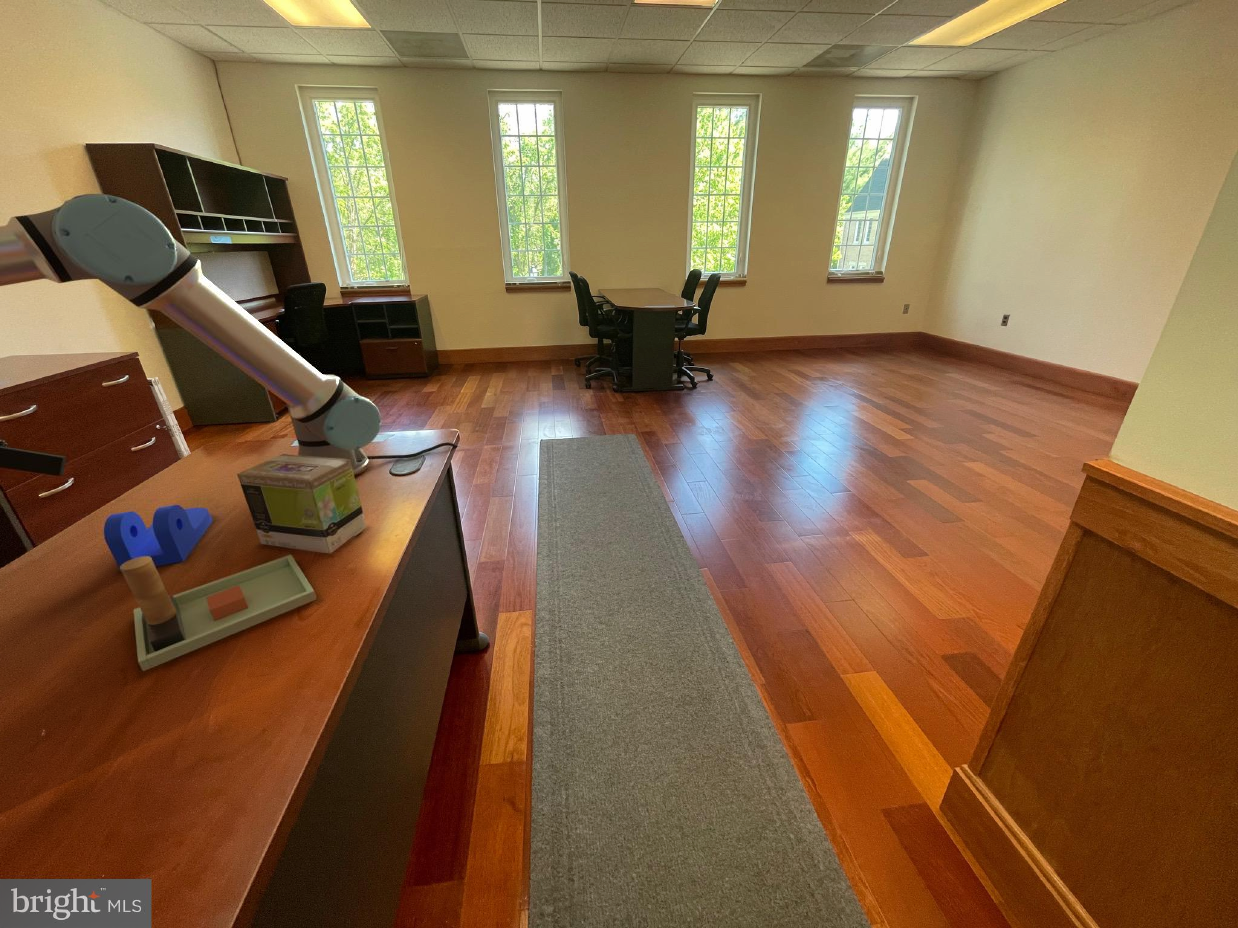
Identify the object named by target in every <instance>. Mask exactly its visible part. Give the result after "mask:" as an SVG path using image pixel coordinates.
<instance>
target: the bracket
mask: <svg viewBox="0 0 1238 928" xmlns="http://www.w3.org/2000/svg"><path fill="white" fill-rule="evenodd" d="M210 513H211V512H210V511H209V509H208V508H205V507H190V508H184V507H182V506H181V505H179V504H172V505H165V506H160V507H158V508H156V510H154V513H153V516H152V523H151V525H149V527H148V528H147V526H146V523H145V521H144V520H143V518H142V517H141V516H140V515H139V514H138V513H137V512H136V511H131V510H130V511H124V512H123V511H122V512H117V513H112V514H110V515H109V516H107V518H106V520H105V522H104V527H103V536H104V540H105V543H106V545H107V548H108V549H109V551H110V553H111V556H112V557H113V559H114V561H115V562H116V565H117V567H118V569H119V571H120V573H122V571H121V569H120V566H121V565H122V564H123V563H125V562H127V561H129V560H131V559H134V558H138V557H143V556H149V557H151V558H152V560H153V563H154V565H155V567H156V568H157V567H161V566H167V565H172V564H177V563H184V562H185V560H186V559H187V557H189V554H191V552H192V550H193V549H194V548H195V546H196V545H197V544H198V542H199V541H200V539H201V538H202V537H203V535H204V534H205V533H206V531H207V530H208V529H209V527H210V526H211V524H212V523H213V518H212V516H211V514H210ZM122 574H123V573H122Z"/></svg>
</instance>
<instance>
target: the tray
mask: <svg viewBox="0 0 1238 928" xmlns="http://www.w3.org/2000/svg"><path fill="white" fill-rule="evenodd" d="M238 585H239V586H240V588H241V591H242V593H243V595H244V598H245V600H246V603H247V606H248V608H247V609H244V610H242V611H239V612H237V613H234V614H232V615H229V616H226V617H224V618H221V619H219V620H216V621H214V619H213V616H212V614H211V612H210V609H209V606H208V602H207V599H206V597H208V596H211V595H214V594H216V593H219V592H222V591H225V590H227V589H230V588H233V587H236V586H238ZM172 596H174V598H175V600H176V603H177V605H178V607H179V610H180V614H181V619H182V623H183V628H184V633H185V637H186V640H184V641H181V642H179V643H176V644H174V645H171V646H169V647H166V648H164V649H161V650H159V651H156V652H155V651H154V649H153V647H152V645H151V643H150V638H149V630H148V623H147V621H146V619H145V617H144V615H143V613H142V611H141V609H140V607H139V606H138V607H137V608H134V609H133V621H134V631H135V632H134V633H135V643H136V654H137V663H138V665H139V667H140V668H141V671H142V672H145V671H147V670H150V669H152V668H154V667H157V666H159V665H161V664H164V663H166V662H169V661H172V660H174V659H176V658H178V657H181V656H183V655H185V654H188V653H190V652H193V651H195V650H198V649H200V648H203V647H206V646H208V645H210V644H212V643H215V642H217V641H219V640H221V639H225V638H227V637H229V636H231V635H234V634H236V633H239V632H242V631H243V630H246V629H248V628H251V627H253V626H255V625H258V624H261V623H263V622H266V621H268V620H271V619H272V618H275V617H277V616H280V615H282V614H284V613H287V612H290V611H292V610H295V609H296V608H299V607H302V606H304V605H306V604H308V603H310V602H313V601H315V600H317V595H316V591H315V590H314V589H313V587H312V585H311V584H310V582H309V580H308V579H307V577H306V575H305V574H304V572H303V571H302V569H301V568H300V566H299V565H298V563H297V562H296V560H295V558H294V557H293V555H292V554H288V555H285V556H283V557H279V558H276V559H274V560H271V561H268V562H265V563H262V564H260V565H256V566H254V567H251V568H248V569H246V570H245V569H244V570H242V571H240V572H239V571H238V572H237V573H234V574H230V575H228V576H225V577H222V578H220V579H217V580H213V581H212V582H208V583H205V584H202V585H199V586H197V587H194V588H190V589H188V590H185V591H182V592H179V593H177V594H173V595H172Z"/></svg>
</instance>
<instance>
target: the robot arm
mask: <svg viewBox="0 0 1238 928" xmlns="http://www.w3.org/2000/svg"><path fill="white" fill-rule="evenodd" d="M8 220H9V221H8V222H7V224H5V225H0V287H5V286H9V285H15V284H16V285H17V284H21V283H28V282H33V281H34V282H35V281H39V280H48V281H51V282H54V283H57V284H64V283H70V282H77V281H86V280H98V281H100V282H101V283H103V284H104V285H105V286H107V287H108V288H110V289H111V290H113V291H114V292H115V293H117V294H119V295H120V296H121V297H123V298H124V299H125V300H126V301H128V302H130V303H131V304H133V305H134V306H135V307H137V308H138V309H145V310H155V311H159V312H160V313H162V314H163V315H165V316H166V317H168V318H169V319H170V320H172V321H173V322H174V323H176V324H177V325H179V326H180V327H181V328H183V329H185V331H187V332H188V333H190V334H191V335H192V336H194V337H195V338H196V339H198V340H199V341H201V342H202V343H203V344H205V345H206V346H207V347H209V349H211V350H213V351H214V352H216V353H217V354H219V355H220V356H221V357H222V358H224V359H225V360H227V361H228V362H230V363H231V364H233V366H234V367H237V368H238V369H239V370H240V371H242V372H243V373H244V374H246V375H247V376H249V377H250V378H251V379H252V380H254V381H256V382H257V383H258V384H260V385H261V386H263V387H264V388H265V389H266V390H267V391H269V392H270V393H272V394H273V395H275V396H276V397H278V398H279V399H280V400H282V401H283V402H284V403H286V407H287V410H288V414H289V416H290V420H291V424H292V428H293V430H294V435H295V438H296V440H297V444H298V452H297V455H302V456H314V457H326V458H338V459H349V460H350V462H351V466H352V469H353V474H354V478H355V477H358V476H359V475H361V474H362V473H364V472H366V471H367V470H368V469H369V467H370V462H369V460H391V459H392V460H393V459H411V458H416V457H419V456H420V455H423V454H426V453H429V452H432V451H435V450H437V449H439V448H442V447H452V448H459V446H458V445H457V444H456V443H453V442H441V443H439V444H436V445H433V446H432V447H428V448H425V449H423V450H422V449H421V450H420V451H417V452H415V453H414V452H413V453H409V454H388V455H387V454H384V455H383V454H382V455H367V454H366V453H365V451H364V449H363V448H365V447H367V446H368V445H370V444H371V443H372V442H373V441H375V438H376V437H377V436H378V434H379V433H380V430H381V427H382V414H381V412H380V410H379V408H378V406H377V405H376V404H375V403H373V401H372V400H370V399H369V398H366V397H365V396H361V395H360V394H358V393H357V392H356V391H354V390H353V389H352V388H351V387H350V386H349V385H347V384H346V383H345V382H344V381H343V380H341V378H340V377H339V376H338V375H335V374H322V373H321V372H320V371H319V370H318V369H316V368H315V367H314V366H312V364H310V363H309V362H308V361H307V360H306V359H304V358H303V357H302V356H301V355H299V353H297V352H296V351H295V350H293V349H292V348H291V347H290V346H289V345H288V344H286V343H285V342H284V341H282V339H280V338H279V337H278V336H276V335H275V334H274V333H273V332H272V331H270V330H269V329H268V328H267V327H266V326H264V325H263V324H262V323H261V322H259V320H257V318H255V317H253V315H251V314H250V313H249V312H248V311H246V310H245V309H244V308H243V307H242V306H240V305H239V304H238V303H237V302H235V300H233V299H232V298H231V297H229V296H228V295H227V294H226V293H225V292H223V290H221V289H220V288H219V287H217V286H216V285H215V284H214V283H213V282H212V281H210V280H209V279H208V278H206V277H205V276H204V274H203V271H202V265H201V260H200V259H199V258H198V257H196V256H195V255H194V254H193V253H191V252H190V251H189V249H187V248H186V247H184V245H182V244H181V243H180V242H178V240H176V239H175V238H174V237H173V235H172V233H171V231H170V230H169V228H167V227H166V226H165V224H164V223H163V222H162V220H160V219H159V218H158V217H157V216H155V215H154V214H153V213H152V212H150V211H149V210H147V209H146V208H145V207H142V206H141V205H139V204H137V203H135V202H132V201H130V200H128V199H124V198H123V197H119V196H114V195H111V194H104V193H85V194H80V195H76V196H73V197H72V198H70V199H67V200H65V201H64V202H63V203H62V205H60V206H57V207H55V208H52V209H49V210H46V211H42V212H38V213H32V214H24V215H16V216H15V215H14V216H11V217H10V218H9V219H8ZM66 461H67V456H65V455H57V454H52V453H46V452H39V451H33V450H28V449H27V450H26V449H20V448H15V447H9V446H8V442H6V441H5V440H4V439H0V468H2V469H6V470H7V469H8V470H14V471H15V470H16V471H20V472H21V471H23V472H28V473H29V472H30V473H35V474H43V475H48V476H56V477H62V476H64V472H65V468H66V467H65V466H66Z"/></svg>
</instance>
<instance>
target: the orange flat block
mask: <svg viewBox="0 0 1238 928" xmlns="http://www.w3.org/2000/svg"><path fill="white" fill-rule="evenodd" d="M206 599H207V602H208V606H209V609H210V612H211V614H212V616H213V619H214V621H216V620H219V619H221V618H224V617H226V616H229V615H232V614H234V613H237V612H239V611H242V610H244V609H247V608H248V606H247V603H246V600H245V598H244V595H243V593H242V591H241V588H240V586H239V585H238V586H236V587H233V588H230V589H227V590H225V591H222V592H219V593H216V594H214V595H211V596H208V597H206Z"/></svg>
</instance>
